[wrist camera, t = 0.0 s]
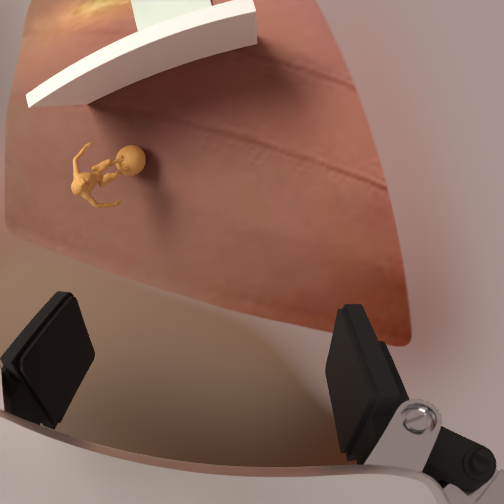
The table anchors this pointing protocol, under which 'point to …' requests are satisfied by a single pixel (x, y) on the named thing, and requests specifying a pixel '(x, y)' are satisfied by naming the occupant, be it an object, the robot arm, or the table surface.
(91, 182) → the figurine
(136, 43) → the screen
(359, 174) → the table surface
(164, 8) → the mat
